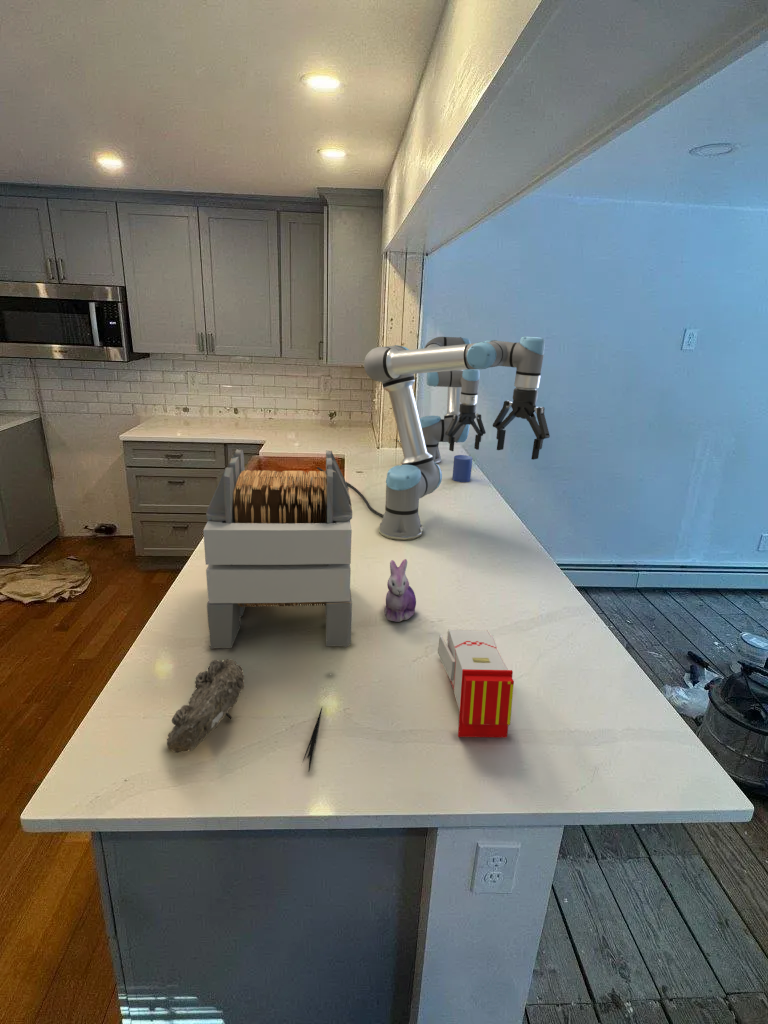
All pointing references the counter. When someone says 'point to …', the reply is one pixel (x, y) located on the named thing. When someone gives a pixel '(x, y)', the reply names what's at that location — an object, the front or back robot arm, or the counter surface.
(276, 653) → the counter surface
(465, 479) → the can
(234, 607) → the gray record crate
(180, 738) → the fossil
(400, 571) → the figurine
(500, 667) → the toy
